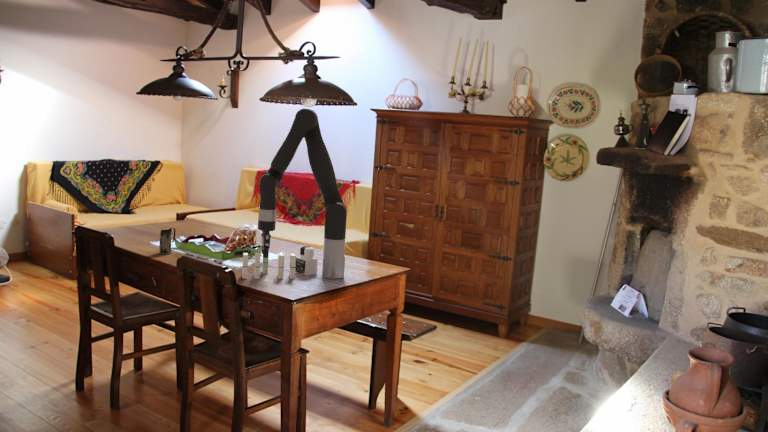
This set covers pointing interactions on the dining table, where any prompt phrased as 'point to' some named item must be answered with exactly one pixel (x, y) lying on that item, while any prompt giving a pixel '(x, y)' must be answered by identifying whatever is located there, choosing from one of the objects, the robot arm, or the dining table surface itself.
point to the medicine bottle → (306, 262)
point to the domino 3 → (265, 265)
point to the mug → (166, 241)
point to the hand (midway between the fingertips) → (264, 255)
